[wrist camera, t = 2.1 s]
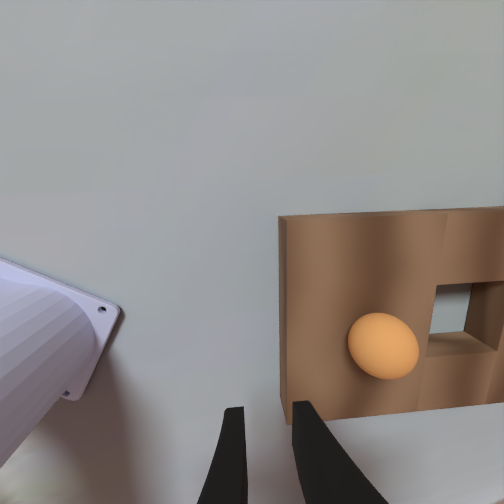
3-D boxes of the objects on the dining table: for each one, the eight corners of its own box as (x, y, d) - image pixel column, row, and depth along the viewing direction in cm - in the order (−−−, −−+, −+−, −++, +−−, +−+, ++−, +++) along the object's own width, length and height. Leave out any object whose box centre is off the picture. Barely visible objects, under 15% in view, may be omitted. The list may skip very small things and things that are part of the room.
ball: (327, 339, 15) (354, 381, 12) (357, 293, 15) (395, 323, 11) (371, 359, 16) (408, 404, 13) (402, 315, 15) (450, 350, 12)
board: (280, 395, 19) (286, 424, 17) (278, 216, 16) (286, 220, 13) (481, 376, 20) (515, 401, 18) (520, 205, 17) (567, 207, 15)
